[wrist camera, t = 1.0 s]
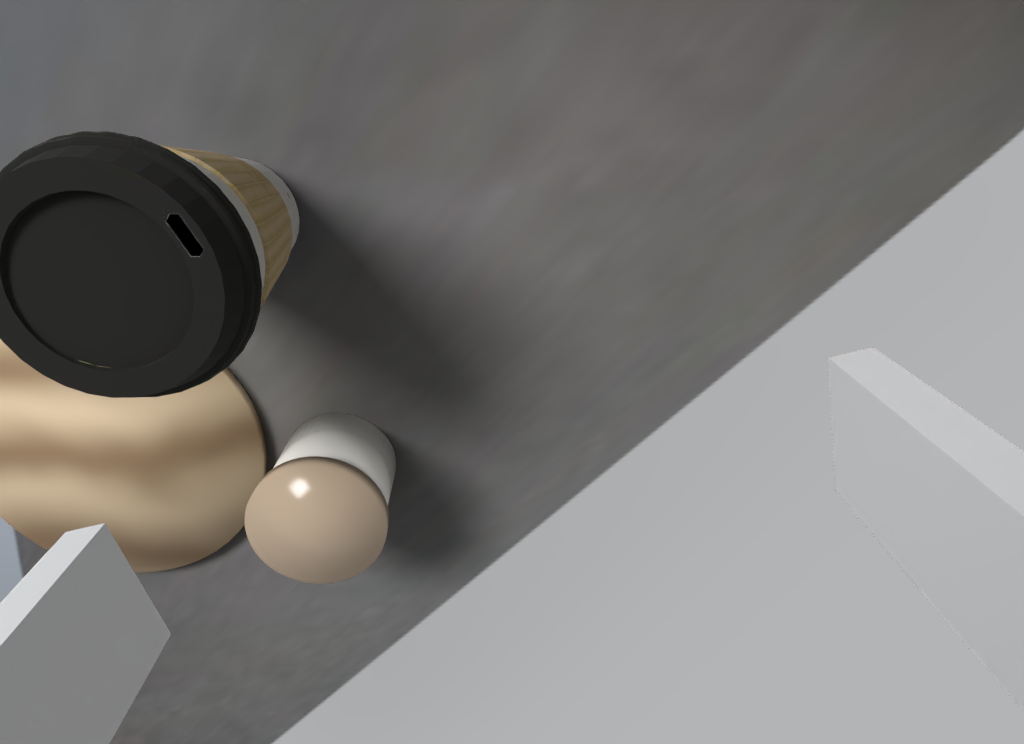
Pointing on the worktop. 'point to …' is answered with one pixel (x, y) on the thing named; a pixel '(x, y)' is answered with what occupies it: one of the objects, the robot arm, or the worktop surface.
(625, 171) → the worktop surface
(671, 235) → the worktop surface
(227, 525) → the round wooden board
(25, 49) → the worktop surface
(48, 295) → the coffee cup
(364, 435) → the sugar jar
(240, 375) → the worktop surface
